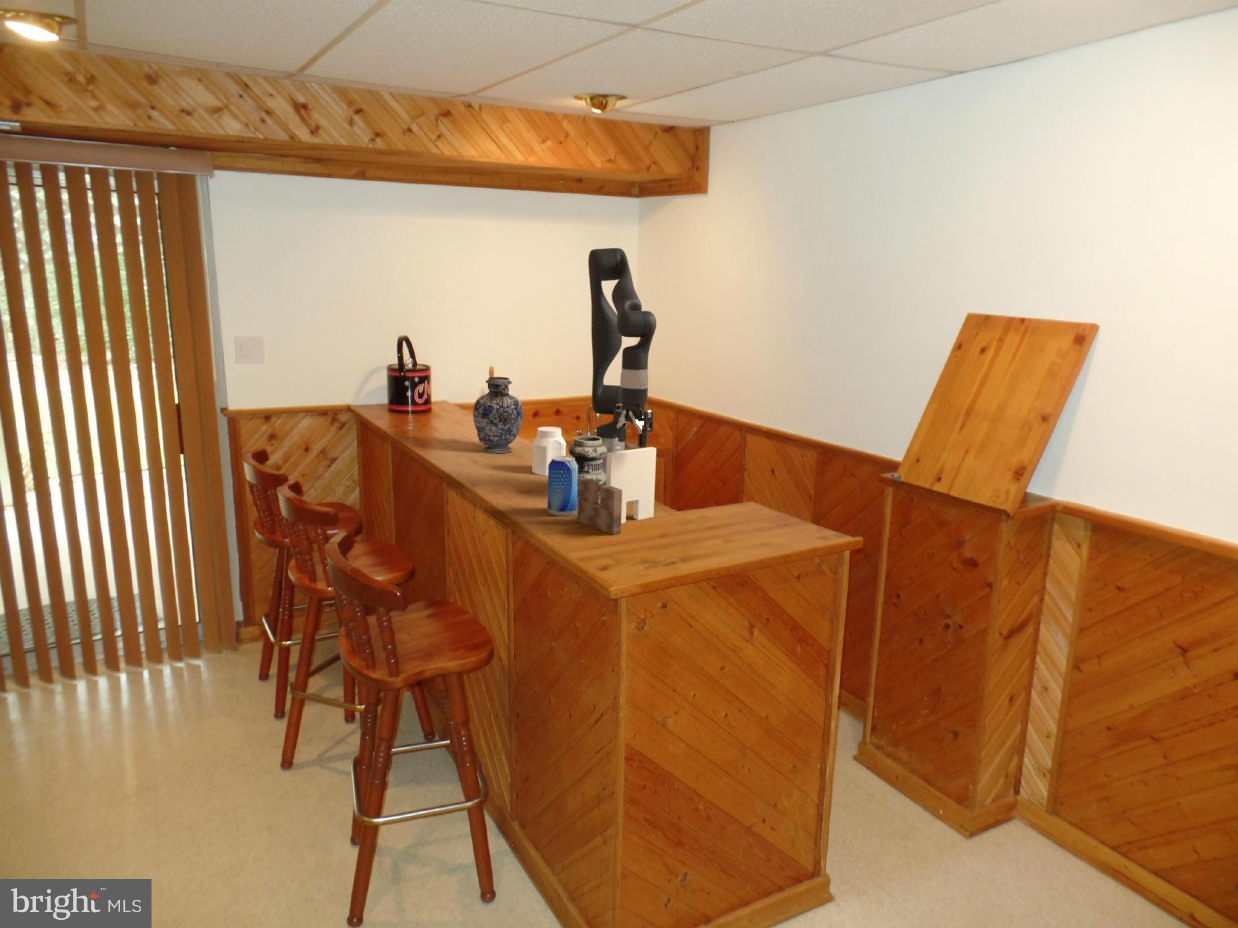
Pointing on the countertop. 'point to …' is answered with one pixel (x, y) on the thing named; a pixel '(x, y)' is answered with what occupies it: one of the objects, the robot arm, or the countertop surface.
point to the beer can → (562, 485)
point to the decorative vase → (497, 416)
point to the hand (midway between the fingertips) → (631, 444)
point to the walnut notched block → (599, 505)
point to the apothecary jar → (589, 457)
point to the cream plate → (634, 479)
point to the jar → (547, 448)
